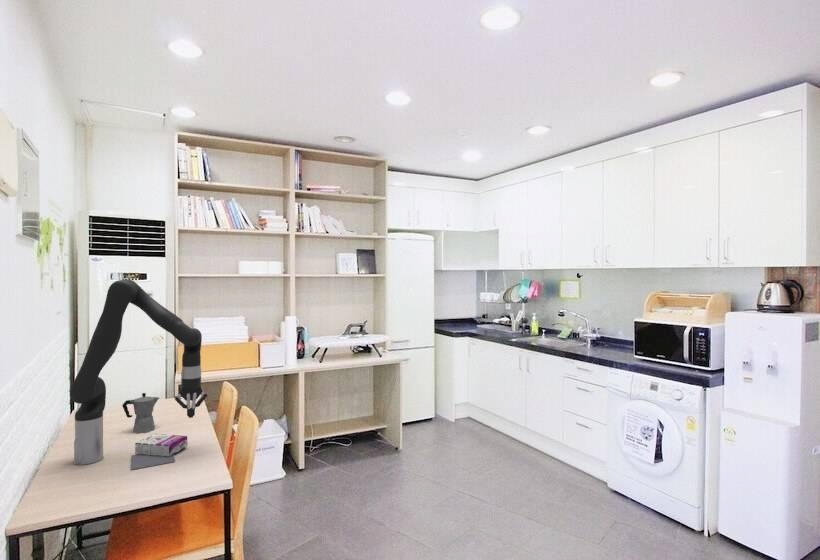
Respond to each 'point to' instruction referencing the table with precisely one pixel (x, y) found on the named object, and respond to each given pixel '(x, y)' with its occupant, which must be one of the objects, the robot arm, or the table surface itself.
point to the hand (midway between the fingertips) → (190, 417)
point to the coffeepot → (142, 413)
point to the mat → (149, 461)
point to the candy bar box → (161, 445)
